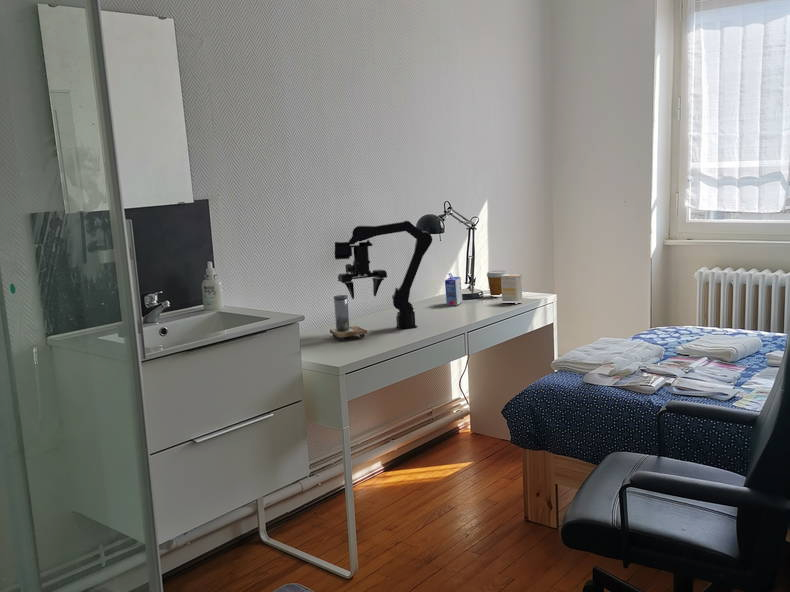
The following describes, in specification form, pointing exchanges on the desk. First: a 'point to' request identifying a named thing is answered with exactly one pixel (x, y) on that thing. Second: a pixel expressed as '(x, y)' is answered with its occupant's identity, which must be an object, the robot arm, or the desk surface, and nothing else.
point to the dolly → (349, 332)
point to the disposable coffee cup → (495, 281)
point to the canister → (341, 313)
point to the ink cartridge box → (453, 290)
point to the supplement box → (511, 287)
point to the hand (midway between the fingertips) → (363, 297)
